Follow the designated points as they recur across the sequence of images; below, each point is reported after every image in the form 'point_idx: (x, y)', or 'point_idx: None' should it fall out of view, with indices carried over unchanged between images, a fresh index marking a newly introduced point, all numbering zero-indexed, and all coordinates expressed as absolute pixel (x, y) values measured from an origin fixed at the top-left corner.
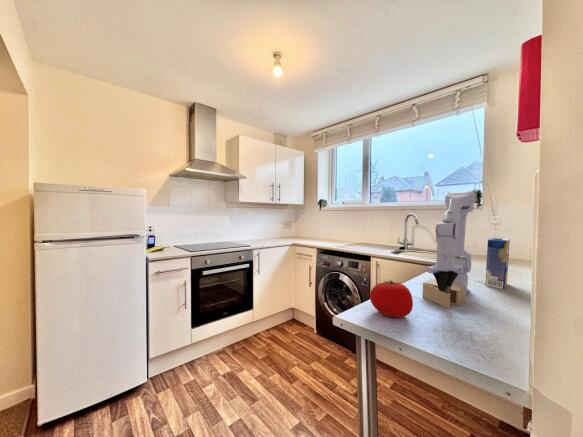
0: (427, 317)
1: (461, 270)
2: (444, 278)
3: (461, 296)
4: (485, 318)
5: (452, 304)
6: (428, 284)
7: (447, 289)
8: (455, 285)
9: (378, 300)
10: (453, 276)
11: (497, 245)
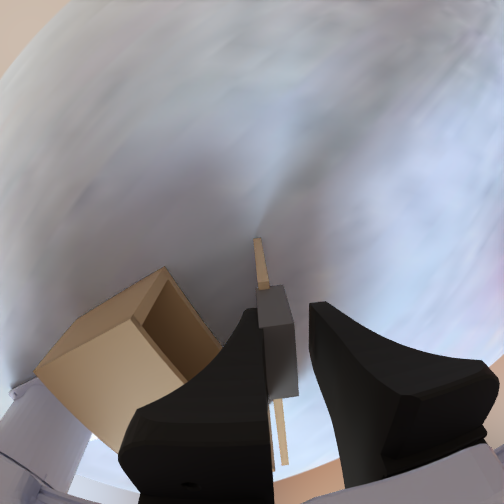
0: (456, 167)
1: (14, 472)
2: (431, 362)
3: (98, 317)
4: (133, 93)
5: (180, 291)
6: None
7: (288, 307)
8: (84, 403)
9: None
10: (252, 403)
11: None
